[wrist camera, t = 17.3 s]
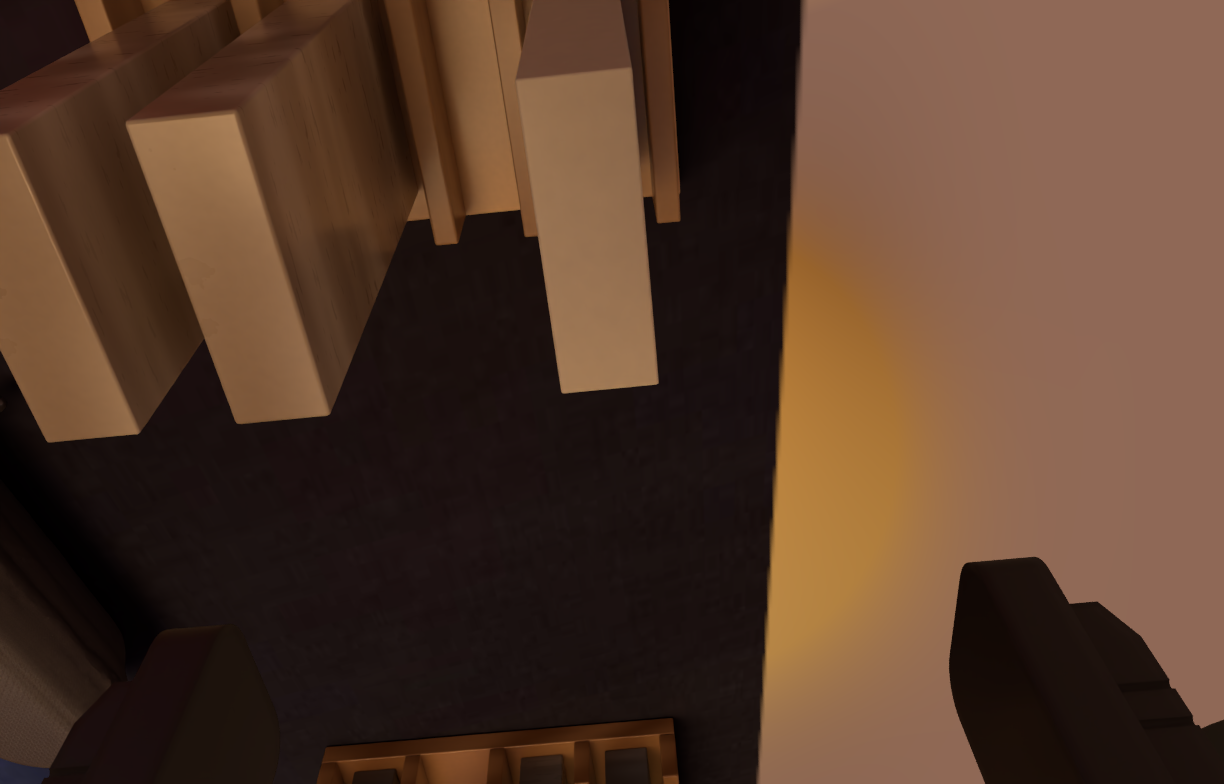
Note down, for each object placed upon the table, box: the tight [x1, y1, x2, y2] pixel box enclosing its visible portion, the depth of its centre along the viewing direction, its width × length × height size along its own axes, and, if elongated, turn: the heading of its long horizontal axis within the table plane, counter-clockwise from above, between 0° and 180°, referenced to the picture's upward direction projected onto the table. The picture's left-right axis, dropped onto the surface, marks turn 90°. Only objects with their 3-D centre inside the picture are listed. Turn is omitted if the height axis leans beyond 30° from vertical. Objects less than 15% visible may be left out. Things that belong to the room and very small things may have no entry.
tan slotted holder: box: [0, 0, 681, 442], centre depth 26 cm, size 17×9×15 cm, turn 95°
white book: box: [515, 0, 659, 393], centre depth 26 cm, size 2×7×14 cm, turn 6°
